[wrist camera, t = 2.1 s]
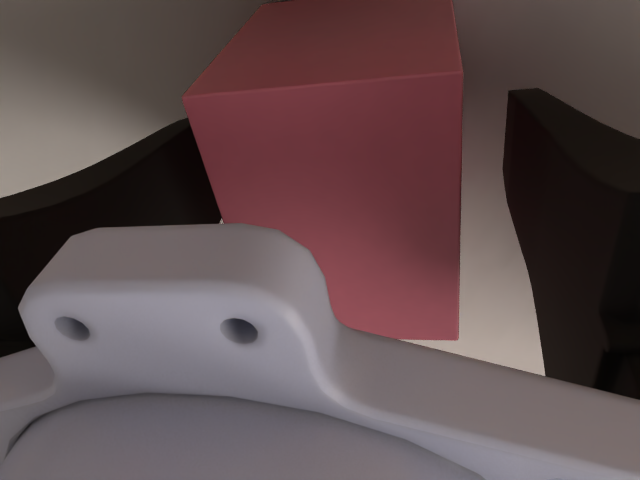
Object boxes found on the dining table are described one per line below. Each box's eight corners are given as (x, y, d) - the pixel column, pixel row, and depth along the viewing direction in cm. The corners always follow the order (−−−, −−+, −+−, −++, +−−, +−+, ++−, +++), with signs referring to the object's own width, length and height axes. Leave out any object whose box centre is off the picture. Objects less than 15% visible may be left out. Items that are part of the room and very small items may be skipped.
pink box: (449, 197, 15) (458, 341, 11) (303, 203, 16) (261, 337, 12) (449, -21, 12) (463, 70, 7) (261, 3, 13) (179, 97, 8)
